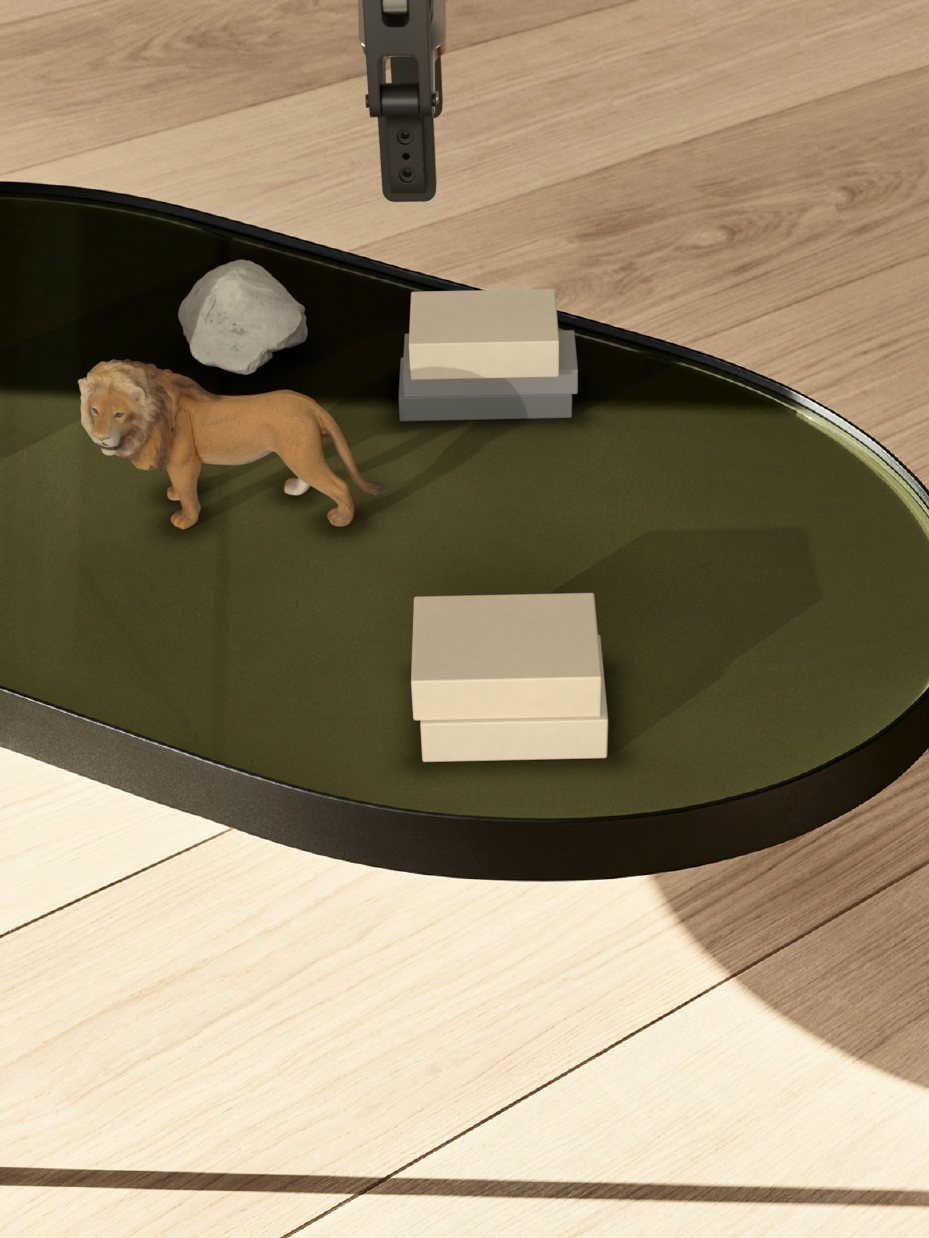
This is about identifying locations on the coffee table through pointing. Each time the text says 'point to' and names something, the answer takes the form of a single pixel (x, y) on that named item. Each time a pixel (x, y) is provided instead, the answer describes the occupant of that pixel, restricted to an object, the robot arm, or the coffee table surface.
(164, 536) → the coffee table surface
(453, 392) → the grey block
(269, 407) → the lion figurine
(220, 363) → the grey stone
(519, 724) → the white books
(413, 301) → the cream flat block
